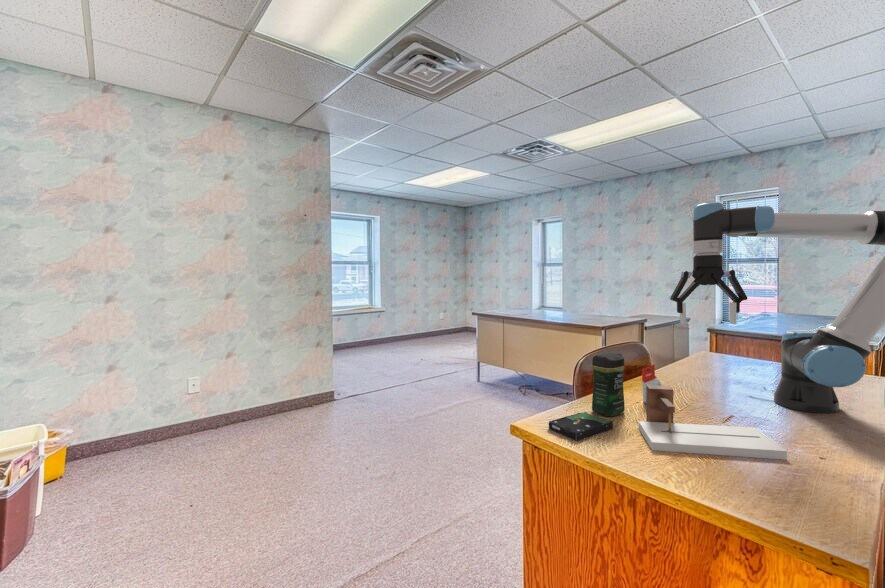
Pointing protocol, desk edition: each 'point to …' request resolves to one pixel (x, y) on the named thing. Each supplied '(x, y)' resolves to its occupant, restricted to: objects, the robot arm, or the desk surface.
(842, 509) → the desk surface
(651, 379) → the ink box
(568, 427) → the disk drive
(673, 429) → the grey board
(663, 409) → the marking gauge
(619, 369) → the coffee jar
